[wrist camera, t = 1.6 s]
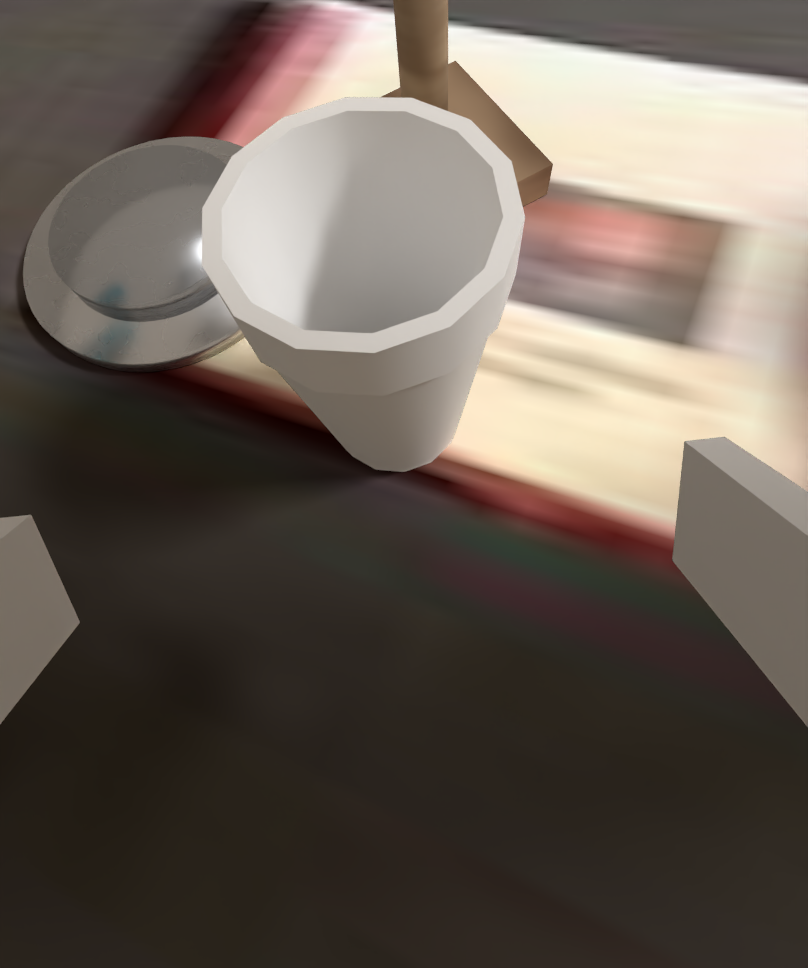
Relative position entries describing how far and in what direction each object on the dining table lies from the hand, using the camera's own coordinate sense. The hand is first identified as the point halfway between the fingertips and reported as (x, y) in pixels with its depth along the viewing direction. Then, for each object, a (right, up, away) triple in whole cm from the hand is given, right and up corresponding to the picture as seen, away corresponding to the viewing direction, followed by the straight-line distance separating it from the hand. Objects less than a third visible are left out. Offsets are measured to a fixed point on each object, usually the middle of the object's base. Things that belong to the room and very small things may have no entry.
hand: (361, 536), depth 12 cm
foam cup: (+1, +5, +17) cm, 18 cm away
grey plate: (-13, +15, +22) cm, 29 cm away
